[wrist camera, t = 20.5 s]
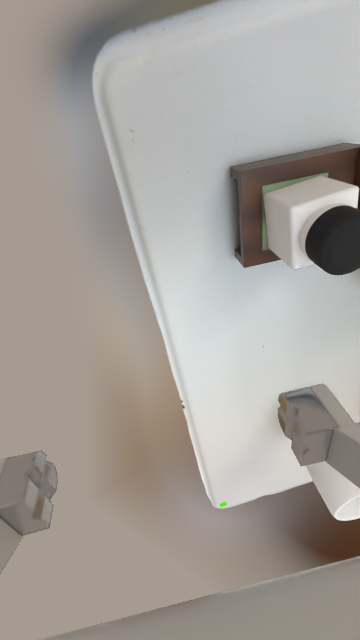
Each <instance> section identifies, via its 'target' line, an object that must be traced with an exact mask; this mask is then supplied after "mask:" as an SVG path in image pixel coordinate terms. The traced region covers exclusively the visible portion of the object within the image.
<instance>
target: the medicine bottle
mask: <svg viewBox="0 0 360 640" xmlns="http://www.w3.org/2000/svg"><path fill="white" fill-rule="evenodd" d="M358 194H359V188H358V187H357V186H355V185H351V184H348V183H344V182H341V181H337V180H334V179H330V178H327V177H323V176H317V177H314V178H311V179H308V180H305V181H302V182H299V183H296V184H293V185H290V186H287V187H284V188H281V189H278V190H275V191H272V192H268V193H266V194H264V206H265V216H266V226H267V237H268V247H269V249H270V250H271V251H272V252H274V253H275V254H276V255H277V256H278V257H279V258H280V259H282V260H283V261H284V262H285V263H286V264H287V265H288V266H289V267H291V268H292V269H293V270H297V269H300V268H303V267H306V266H309V265H312V264H316V265H318V266H319V267H320V268H322V269H323V270H324V271H326V272H327V273H329V274H332V275H343V274H347V273H350V272H353V271H355V270H357V269H359V268H360V210H359V209H357V206H358Z"/></svg>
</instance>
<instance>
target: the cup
mask: <svg viewBox="0 0 360 640" xmlns="http://www.w3.org/2000/svg"><path fill="white" fill-rule="evenodd" d="M306 466H307V469H308V471H309V473H310V475H311V477H312V479H313V481H314V483H315V485H316V487H317V489H318V491H319V492H320V494H321V496H322V498H323V500H324V502H325V503H326V505H327V507H328V509H329V510H330V512H331V514H332V515H333V516H334V517H335V518H336V519H337V520H343V521H346V520H353V519H357V518H360V488H358V487H357V486H356V485H354V484H353V483H352V482H351V481H349V480H348V479H347V478H346V477H344V476H343V475H342V474H340V473H339V472H338V471H337V470H335V469H334V468H333V467H331V466H330V465H329V464H328V463H326V461H324V462H319V463H314V464H310V465H306Z"/></svg>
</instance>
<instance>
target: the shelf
mask: <svg viewBox="0 0 360 640" xmlns="http://www.w3.org/2000/svg"><path fill="white" fill-rule="evenodd" d="M230 172H231V177H232V178H234V179H235V180H237V181H238V196H239V219H240V243H241V248H238V249H235V257H236V258H237V259H238V261H239V262H240V263H241V264H242V266H243V267H244V268H245V267H250V266H254V265H259V264H263V263H268V262H272V261H277V260H281V259H280V258H279V257H278V256H277V255H276V254H275V253H274V252H272V251H271V250H270V249H269V247H268V237H267V226H266V216H265V206H264V194H266V193H268V192H272V191H275V190H278V189H281V188H284V187H287V186H290V185H293V184H296V183H299V182H302V181H305V180H308V179H311V178H314V177H317V176H323V177H327V178H330V179H334V180H337V181H341V182H344V183H348V184H351V185H355V186H357V187H358V188H359V194H358V206H357V209H359V210H360V144H351V143H343V144H338V145H333V146H329V147H324V148H319V149H314V150H309V151H304V152H299V153H295V154H290V155H285V156H280V157H275V158H270V159H265V160H261V161H256V162H251V163H246V164H241V165H236V166H231V167H230Z"/></svg>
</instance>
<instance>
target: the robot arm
mask: <svg viewBox="0 0 360 640" xmlns="http://www.w3.org/2000/svg"><path fill="white" fill-rule="evenodd" d="M278 401H279V403H280V405H281V406H280V407H279V408H278V418H279V423H280V425H281V428H282V430H283V432H284V434H285V436H286V437H288V438H289V439H291V440H292V446H291V448H292V450H293V452H294V454H295V456H296V458H297V460H298V462H299V463H300V465H301V466H305V465H310V464H314V463H319V462H324V461H326V463H328V464H329V465H330V466H331V467H333V468H334V469H335V470H337V471H338V472H339V473H340V474H342V475H343V476H344V477H346V478H347V479H348V480H349V481H351V482H352V483H353V484H354V485H356V486H357V487H358V488H360V422H359V423H355V422H354V421H353V420H352V418H351V417H350V416H349V414H348V413H347V412H346V411H345V409H344V408H343V407H342V405H341V404H340V403H339V402H338V400H337V399H336V398H335V396H334V395H333V394H332V392H331V391H330V390H329V389H328V387H327V386H326V385H324V384H318V385H315V386H311V387H305V388H301V389H297V390H293V391H289V392H285V393H281V394H280V395H279V399H278ZM57 483H58V479H57V471H56V468H55V466H54V465H53V463H51V462H48V461H46V454H45V453H44V452H43V451H37V452H32V453H27V454H23V455H18V456H14V457H9V458H4V459H0V574H1V572H2V571H3V569H4V568H5V566H6V564H7V563H8V561H9V559H10V557H11V556H12V555H13V553H14V551H15V550H16V548H17V546H18V545H19V543H20V542H21V540H22V538H23V535H27V534H30V533H34V532H38V531H41V530H45V529H48V528H50V522H51V517H52V511H53V504H52V502H51V500H50V499H51V498H52V496H53V495H54V493H55V492H56V489H57ZM40 640H360V556H359V557H355V558H351V559H348V560H343V561H340V562H336V563H332V564H328V565H325V566H320V567H316V568H313V569H309V570H305V571H301V572H298V573H293V574H290V575H286V576H282V577H278V578H274V579H270V580H267V581H263V582H259V583H255V584H251V585H248V586H244V587H240V588H236V589H232V590H229V591H225V592H221V593H217V594H213V595H209V596H205V597H201V598H197V599H194V600H190V601H186V602H182V603H178V604H175V605H171V606H167V607H163V608H159V609H156V610H151V611H148V612H144V613H140V614H136V615H133V616H128V617H125V618H121V619H117V620H113V621H109V622H106V623H102V624H98V625H94V626H90V627H87V628H83V629H79V630H75V631H71V632H67V633H63V634H59V635H56V636H52V637H48V638H44V639H40Z"/></svg>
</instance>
